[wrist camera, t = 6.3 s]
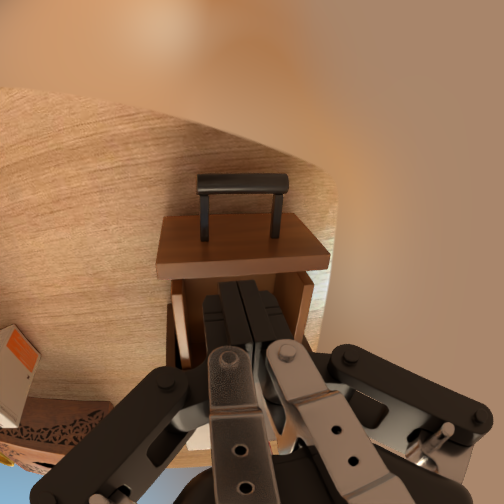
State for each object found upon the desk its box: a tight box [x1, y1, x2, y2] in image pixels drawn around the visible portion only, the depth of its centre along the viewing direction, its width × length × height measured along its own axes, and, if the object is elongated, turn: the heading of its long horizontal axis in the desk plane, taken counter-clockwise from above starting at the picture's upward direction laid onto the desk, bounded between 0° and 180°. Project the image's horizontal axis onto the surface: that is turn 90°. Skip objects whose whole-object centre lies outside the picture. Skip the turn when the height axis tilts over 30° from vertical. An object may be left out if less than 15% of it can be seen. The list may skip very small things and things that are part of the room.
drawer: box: [156, 173, 331, 370], centre depth 24 cm, size 19×11×8 cm, turn 177°
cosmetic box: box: [0, 324, 41, 428], centre depth 22 cm, size 6×4×12 cm
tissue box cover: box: [0, 397, 114, 475], centre depth 33 cm, size 26×14×10 cm, turn 91°
